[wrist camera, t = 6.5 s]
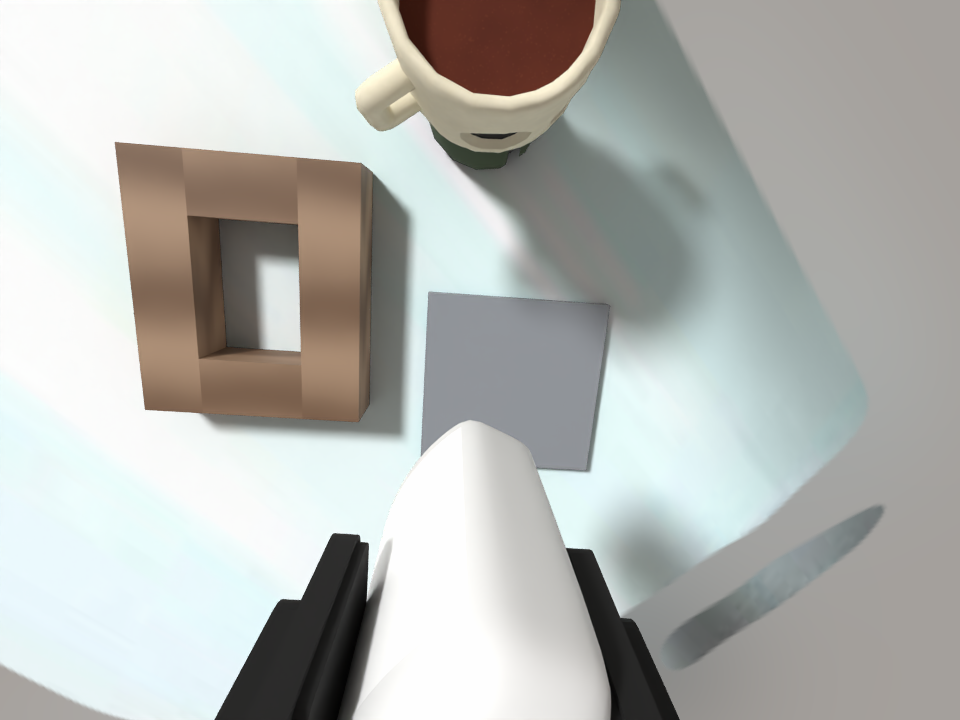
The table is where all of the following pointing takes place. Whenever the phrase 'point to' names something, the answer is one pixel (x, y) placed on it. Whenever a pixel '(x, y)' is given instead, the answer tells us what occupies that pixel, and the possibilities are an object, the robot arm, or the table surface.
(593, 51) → the character mug
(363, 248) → the walnut dock
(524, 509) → the eye dropper bottle
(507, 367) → the slate mat
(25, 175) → the table surface
